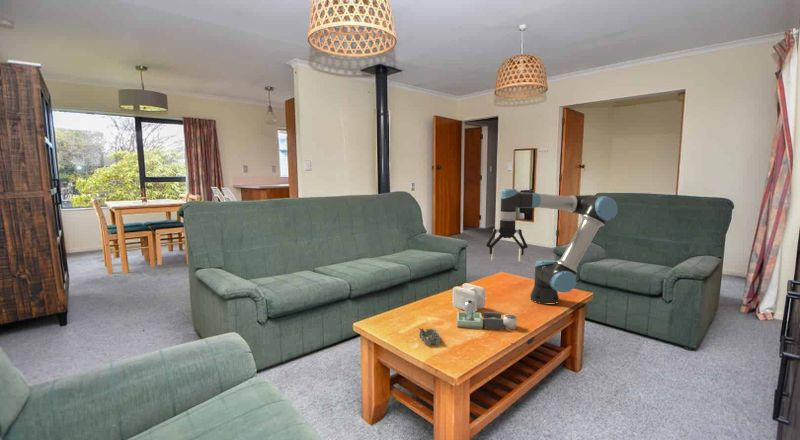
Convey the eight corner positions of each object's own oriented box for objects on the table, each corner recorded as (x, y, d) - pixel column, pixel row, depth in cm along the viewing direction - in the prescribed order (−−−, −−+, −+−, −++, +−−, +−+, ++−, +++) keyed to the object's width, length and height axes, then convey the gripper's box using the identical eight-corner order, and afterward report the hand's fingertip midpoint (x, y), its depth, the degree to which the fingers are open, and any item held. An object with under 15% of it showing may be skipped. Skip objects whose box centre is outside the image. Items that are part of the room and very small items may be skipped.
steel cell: (473, 319, 178) (474, 299, 176) (474, 323, 173) (475, 302, 172) (464, 318, 178) (464, 298, 177) (464, 322, 174) (465, 302, 172)
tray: (480, 318, 181) (480, 312, 180) (482, 328, 169) (482, 322, 169) (456, 317, 182) (457, 311, 182) (457, 326, 171) (457, 320, 171)
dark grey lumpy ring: (417, 335, 162) (417, 326, 162) (434, 334, 164) (434, 325, 163) (424, 346, 152) (424, 337, 152) (441, 345, 154) (441, 335, 153)
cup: (515, 324, 174) (515, 314, 173) (517, 330, 168) (518, 319, 167) (502, 323, 175) (502, 313, 174) (504, 329, 169) (504, 318, 168)
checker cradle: (500, 321, 177) (500, 311, 177) (503, 329, 168) (503, 319, 168) (483, 320, 178) (483, 310, 178) (485, 328, 169) (485, 318, 169)
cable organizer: (486, 309, 192) (487, 288, 191) (474, 315, 185) (474, 292, 184) (463, 302, 203) (464, 282, 202) (451, 307, 196) (451, 286, 195)
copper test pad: (496, 319, 175) (496, 317, 174) (497, 322, 171) (497, 320, 171) (488, 319, 175) (489, 317, 175) (489, 322, 172) (489, 320, 171)
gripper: (531, 219, 187) (529, 260, 189) (481, 218, 190) (480, 258, 193) (535, 221, 179) (532, 263, 182) (483, 220, 183) (481, 261, 185)
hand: (505, 260), depth 187 cm, fingers open, 13 cm apart
